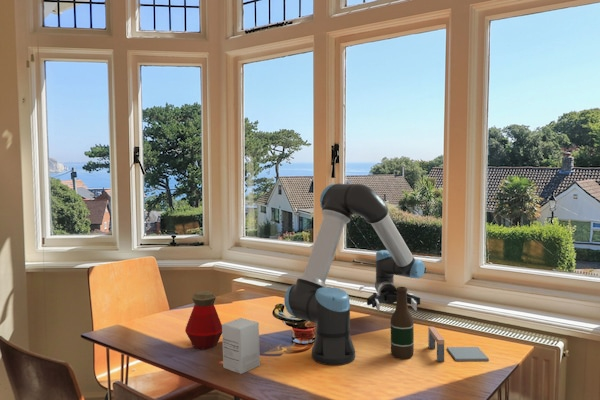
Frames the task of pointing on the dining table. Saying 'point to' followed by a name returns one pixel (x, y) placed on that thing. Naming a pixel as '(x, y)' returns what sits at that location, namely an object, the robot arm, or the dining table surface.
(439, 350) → the hurdle posts
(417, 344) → the dining table surface
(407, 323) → the beer bottle
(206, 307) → the red faceted jar
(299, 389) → the dining table surface
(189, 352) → the dining table surface
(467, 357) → the grey mat
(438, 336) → the hurdle bar
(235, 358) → the supplement box
